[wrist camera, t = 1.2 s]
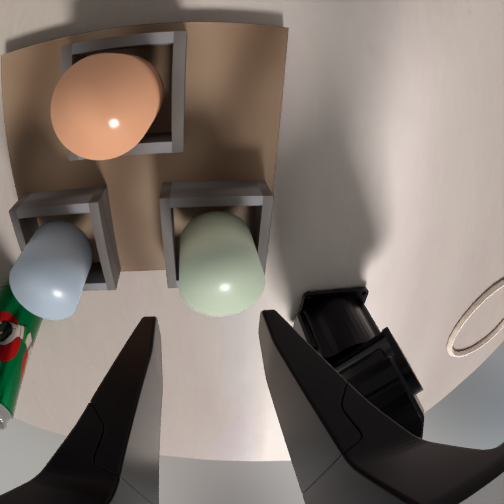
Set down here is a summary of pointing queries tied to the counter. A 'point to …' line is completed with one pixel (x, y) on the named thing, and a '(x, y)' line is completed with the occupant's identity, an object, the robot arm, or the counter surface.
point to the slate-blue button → (52, 270)
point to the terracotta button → (106, 104)
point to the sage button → (219, 265)
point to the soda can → (14, 349)
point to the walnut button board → (152, 143)
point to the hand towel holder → (464, 318)
